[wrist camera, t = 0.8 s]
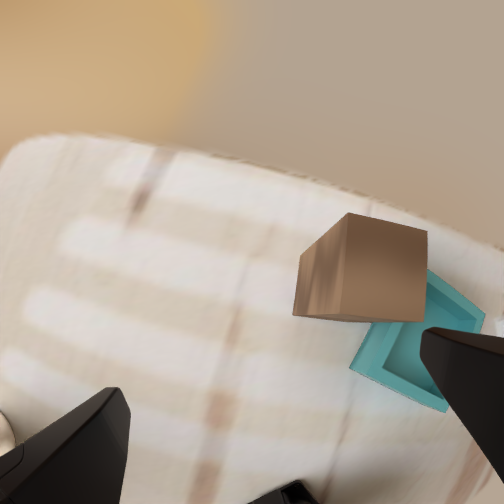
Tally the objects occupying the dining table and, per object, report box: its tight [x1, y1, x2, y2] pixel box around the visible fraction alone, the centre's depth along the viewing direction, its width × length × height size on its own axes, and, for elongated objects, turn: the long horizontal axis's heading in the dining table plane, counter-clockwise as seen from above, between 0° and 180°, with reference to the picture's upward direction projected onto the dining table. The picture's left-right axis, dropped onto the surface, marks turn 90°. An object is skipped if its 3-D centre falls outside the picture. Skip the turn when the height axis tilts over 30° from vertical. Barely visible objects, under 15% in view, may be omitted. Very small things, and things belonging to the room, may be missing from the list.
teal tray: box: [349, 269, 485, 413], centre depth 23 cm, size 10×10×4 cm
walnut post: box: [293, 213, 427, 323], centre depth 20 cm, size 5×5×11 cm
